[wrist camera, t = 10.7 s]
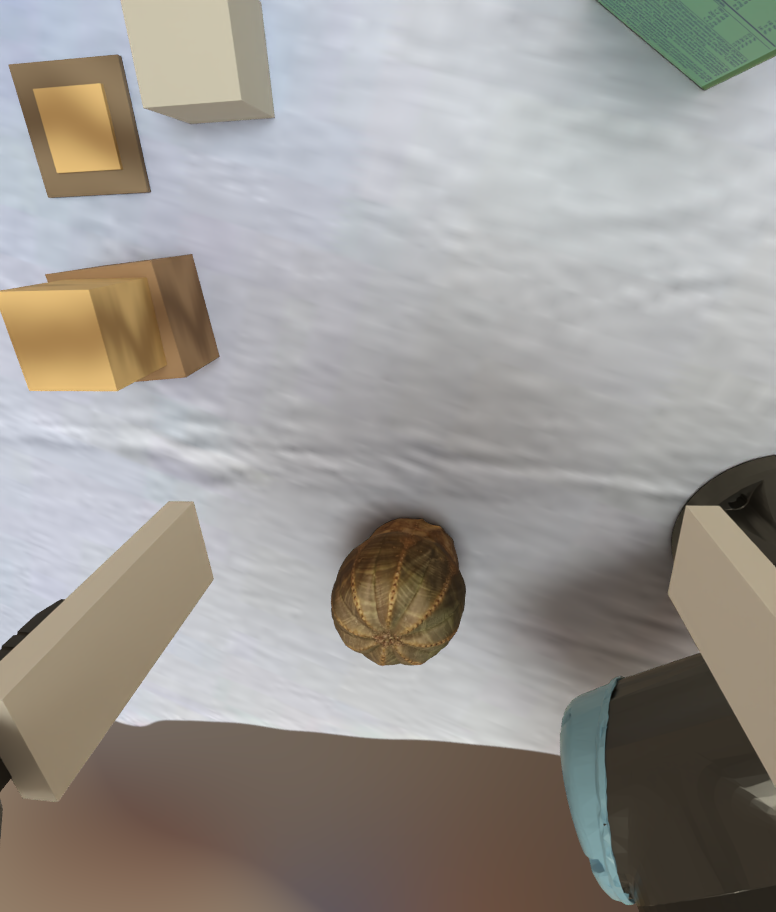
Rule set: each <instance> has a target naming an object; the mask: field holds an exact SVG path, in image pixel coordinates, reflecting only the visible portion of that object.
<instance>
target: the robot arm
mask: <svg viewBox="0 0 776 912" xmlns="http://www.w3.org/2000/svg"><path fill="white" fill-rule="evenodd" d="M671 549H672V556H673V560H674V566H673V570H672V575H671V580H670V585H669V590H668V595H669V597H670V599H671V601H672V603H673V604H674V606H675V608H676V610H677V612H678V613H679V615H680V617H681V619H682V620H683V622H684V624H685V626H686V628H687V629H688V631H689V633H690V635H691V637H692V638H693V640H694V642H695V644H696V646H697V647H698V649H699V651H700V653H698V654H695V655H692V656H689V657H686V658H683V659H680V660H677V661H674V662H671V663H668V664H665V665H662V666H659V667H656V668H653V669H650V670H647V671H644V672H641V673H638V674H635V675H632V676H629V677H626V678H624V677H622V676H620V677H616V678H614V679H612V680H611V682H610V683H609V684H607V685H605V686H602V687H600V688H597V689H595V690H592V691H590V692H587V693H585V694H582V695H580V696H578V697H576V698H575V699H574V700H572V702H571V703H570V704H569V705H568V707H567V708H566V710H565V712H564V716H563V718H562V725H561V733H560V755H561V765H562V772H563V779H564V785H565V790H566V795H567V799H568V803H569V807H570V811H571V815H572V819H573V822H574V826H575V829H576V832H577V835H578V839H579V841H580V844H581V847H582V849H583V851H584V853H585V855H586V856H588V857H589V860H590V864H591V869H592V872H593V874H594V876H595V878H596V880H597V881H598V883H599V885H600V886H601V887H602V889H603V890H604V891H605V892H606V893H607V894H608V895H609V896H610V897H611V898H612V899H614V900H617V901H621V902H623V903H624V904H626V905H632V904H635V903H636V905H637V907H638V909H639V912H776V456H770V457H765V458H761V459H757V460H753V461H750V462H747V463H744V464H741V465H739V466H737V467H734V468H732V469H730V470H728V471H726V472H724V473H722V474H721V475H719V476H717V477H716V478H714V479H713V480H711V481H710V482H709V483H707V484H706V485H705V486H704V487H702V488H701V489H700V490H699V491H698V492H697V493H696V494H695V495H694V496H693V497H692V498H691V499H690V500H689V502H688V503H687V504H686V506H685V507H684V508H683V510H682V512H681V513H680V515H679V517H678V519H677V521H676V524H675V526H674V530H673V534H672V541H671ZM213 579H214V578H213V574H212V570H211V566H210V563H209V559H208V555H207V551H206V547H205V543H204V540H203V536H202V532H201V528H200V524H199V521H198V517H197V513H196V509H195V505H194V502H184V501H169V502H168V503H167V504H166V505H165V506H163V507H162V508H161V509H160V510H159V511H158V512H157V513H156V514H155V515H154V516H153V517H152V518H151V519H150V520H149V521H148V522H147V523H146V524H144V525H143V526H142V527H141V528H140V529H139V530H138V531H137V532H136V533H135V534H134V535H133V536H132V537H131V538H130V539H129V540H128V541H127V542H125V543H124V544H123V545H122V546H121V547H120V548H119V549H118V550H117V551H116V552H115V553H114V554H113V555H112V556H111V557H110V558H109V559H108V560H106V561H105V562H104V563H103V564H102V565H101V566H100V567H99V568H98V569H97V570H96V571H95V572H94V573H93V574H92V575H91V576H90V577H89V578H88V579H86V580H85V581H84V582H83V583H82V584H81V585H80V586H79V587H78V588H77V589H76V590H75V591H74V592H73V593H72V594H71V595H70V596H69V597H67V598H66V599H61V600H59V601H57V602H56V603H54V604H52V605H51V606H49V607H47V608H46V609H44V610H43V611H41V612H39V613H38V614H36V615H35V616H34V617H33V618H32V619H31V620H30V621H29V622H28V623H26V624H25V625H24V626H23V627H22V628H21V629H20V630H19V631H18V633H17V635H13V636H12V637H11V638H10V639H9V640H8V641H7V642H6V643H5V644H4V645H2V649H1V650H0V791H1V790H2V789H3V788H4V786H5V785H6V784H7V783H8V781H9V780H10V779H12V781H13V782H14V784H15V786H16V788H17V789H18V791H19V793H20V794H21V796H22V798H25V799H34V800H43V801H52V802H53V801H54V802H59V800H60V799H61V797H62V796H63V794H64V793H65V792H66V790H67V789H68V787H69V786H70V784H71V783H72V782H73V780H74V779H75V777H76V776H77V774H78V773H79V771H80V770H81V769H82V767H83V766H84V764H85V763H86V761H87V760H88V759H89V757H90V756H91V754H92V753H93V751H94V750H95V749H96V747H97V746H98V744H99V743H100V741H101V740H102V739H103V737H104V736H105V734H106V732H107V731H108V730H109V729H110V727H111V726H112V724H113V723H114V721H115V720H116V718H117V717H118V716H119V714H120V713H121V711H122V710H123V708H124V707H125V706H126V704H127V703H128V701H129V700H130V698H131V697H132V696H133V694H134V693H135V691H136V690H137V688H138V687H139V686H140V684H141V683H142V681H143V680H144V678H145V677H146V675H147V674H148V673H149V671H150V670H151V668H152V667H153V665H154V664H155V663H156V661H157V660H158V658H159V657H160V655H161V654H162V653H163V651H164V650H165V648H166V647H167V645H168V644H169V643H170V641H171V640H172V638H173V637H174V635H175V634H176V632H177V631H178V630H179V628H180V627H181V625H182V624H183V622H184V621H185V620H186V618H187V617H188V615H189V614H190V612H191V611H192V610H193V608H194V607H195V605H196V604H197V602H198V601H199V600H200V598H201V597H202V595H203V594H204V592H205V591H206V589H207V588H208V587H209V585H210V584H211V582H212V581H213ZM2 810H3V809H2V804H1V800H0V837H1V823H2Z"/></svg>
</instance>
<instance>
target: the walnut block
mask: <svg viewBox="0 0 776 912" xmlns="http://www.w3.org/2000/svg"><path fill="white" fill-rule="evenodd" d="M45 276H46V278H47V281H48V282H54V281H60V280H67V279H106V278H146V277H147V280H148V284H149V289H150V293H151V297H152V302H153V306H154V310H155V315H156V319H157V323H158V328H159V332H160V336H161V340H162V345H163V349H164V353H165V358H166V362H167V365H166V366H164V367H162V368H160V369H158V370H156V371H154V372H153V373H151V374H149V375H147V376H145V377H143V378H141V379H139V380H137V381H136V382H138V381H149V380H161V379H172V378H183V377H187V376H189V375H191V374H192V373H194V372H195V371H197V370H199V369H200V368H202V367H204V366H205V365H207V364H208V363H210V362H212V361H213V360H215V359H217V358H218V357H219V353H218V349H217V345H216V342H215V338H214V334H213V330H212V327H211V323H210V319H209V315H208V312H207V308H206V304H205V300H204V297H203V293H202V289H201V285H200V282H199V278H198V274H197V270H196V267H195V263H194V259H193V255H192V254H190V255H182V256H175V257H167V258H159V259H152V260H144V261H136V262H129V263H121V264H113V265H106V266H98V267H92V268H85V269H78V270H72V271H65V272H59V273H52V274H45Z"/></svg>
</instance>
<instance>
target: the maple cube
mask: <svg viewBox="0 0 776 912" xmlns="http://www.w3.org/2000/svg"><path fill="white" fill-rule="evenodd" d="M0 311H1V314H2V317H3V319H4V322H5V325H6V328H7V330H8V333H9V336H10V339H11V341H12V344H13V347H14V350H15V352H16V355H17V358H18V361H19V363H20V366H21V369H22V372H23V375H24V377H25V380H26V383H27V386H28V388H29V391H119V390H121V389H122V388H124V387H126V386H128V385H130V384H132V383H134V382H136V381H137V380H139V379H141V378H143V377H145V376H147V375H149V374H151V373H153V372H154V371H156V370H158V369H160V368H162V367H164V366H166V365H167V362H166V358H165V353H164V349H163V345H162V340H161V336H160V332H159V328H158V323H157V319H156V315H155V310H154V306H153V302H152V297H151V293H150V289H149V284H148V280H147V277H146V278H106V279H67V280H60V281H54V282H48V283H42V284H36V285H30V286H25V287H19V288H13V289H7V290H1V291H0Z"/></svg>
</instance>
